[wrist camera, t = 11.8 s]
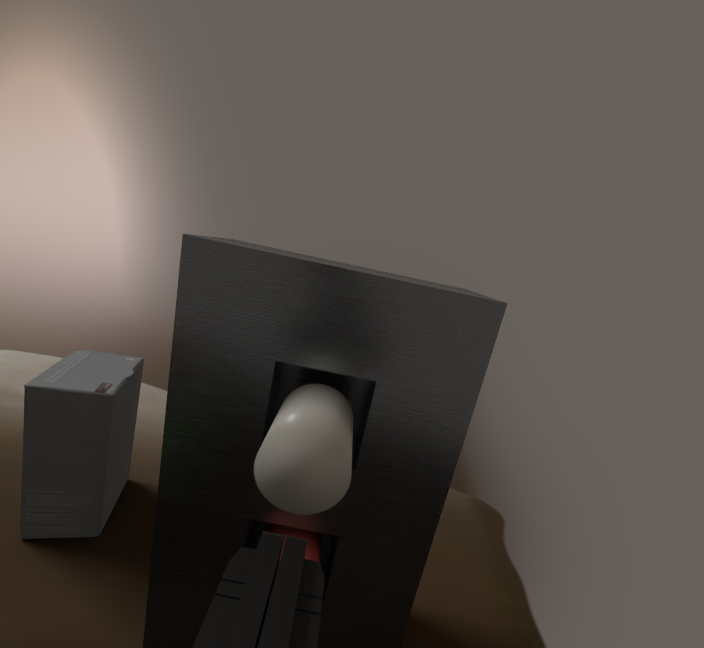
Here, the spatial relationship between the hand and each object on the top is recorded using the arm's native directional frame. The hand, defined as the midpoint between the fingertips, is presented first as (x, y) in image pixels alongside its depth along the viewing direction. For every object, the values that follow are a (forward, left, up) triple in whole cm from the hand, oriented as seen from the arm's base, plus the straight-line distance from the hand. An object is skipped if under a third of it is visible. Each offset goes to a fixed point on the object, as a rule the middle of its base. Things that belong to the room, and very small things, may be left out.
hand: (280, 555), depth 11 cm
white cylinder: (+5, +5, -2) cm, 7 cm away
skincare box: (-2, +29, -21) cm, 36 cm away
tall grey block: (+9, +9, -21) cm, 25 cm away
